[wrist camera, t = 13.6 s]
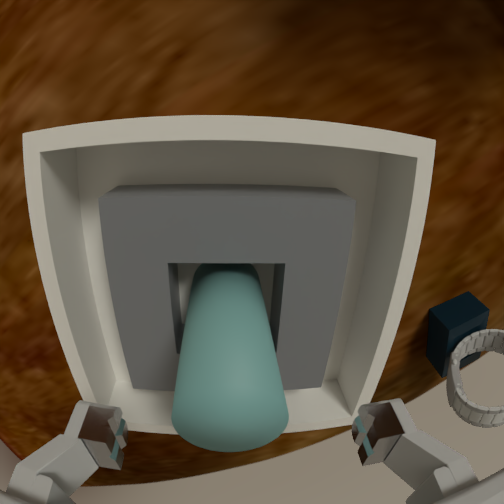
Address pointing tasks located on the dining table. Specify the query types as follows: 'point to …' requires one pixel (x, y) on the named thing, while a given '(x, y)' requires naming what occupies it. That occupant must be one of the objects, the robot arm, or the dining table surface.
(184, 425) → the peg
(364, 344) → the open box
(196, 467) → the dining table surface
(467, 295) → the watch
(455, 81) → the dining table surface
